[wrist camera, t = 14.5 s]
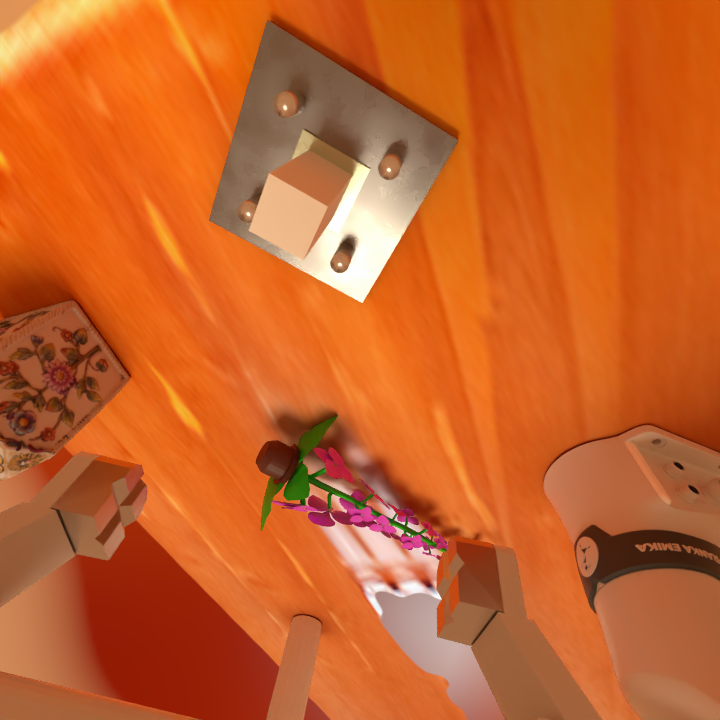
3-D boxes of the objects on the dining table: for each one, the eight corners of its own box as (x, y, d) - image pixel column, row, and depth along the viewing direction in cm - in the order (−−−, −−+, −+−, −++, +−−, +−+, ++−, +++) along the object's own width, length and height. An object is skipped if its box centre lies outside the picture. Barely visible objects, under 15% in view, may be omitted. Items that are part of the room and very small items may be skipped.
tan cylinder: (293, 611, 81) (254, 759, 63) (324, 618, 80) (293, 768, 63) (291, 627, 85) (254, 771, 67) (320, 634, 85) (290, 780, 67)
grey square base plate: (457, 139, 33) (460, 146, 30) (363, 298, 42) (357, 317, 38) (271, 21, 30) (252, 14, 27) (213, 217, 39) (193, 230, 36)
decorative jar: (135, 379, 52) (18, 498, 38) (65, 393, 56) (-68, 507, 41) (74, 294, 46) (-93, 395, 32) (0, 315, 50) (-183, 416, 35)
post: (352, 175, 34) (327, 206, 26) (332, 218, 36) (303, 260, 28) (308, 149, 34) (269, 173, 25) (290, 195, 36) (248, 230, 28)
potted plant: (296, 381, 54) (487, 494, 65) (227, 485, 55) (428, 580, 66) (306, 412, 42) (538, 543, 53) (219, 544, 43) (465, 648, 54)
